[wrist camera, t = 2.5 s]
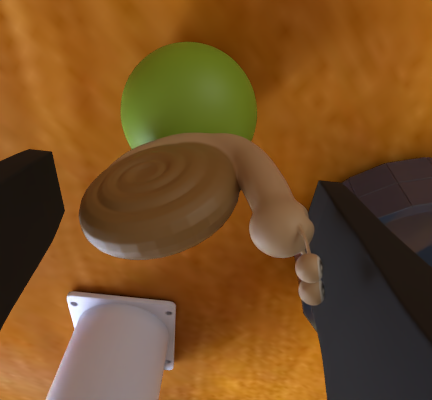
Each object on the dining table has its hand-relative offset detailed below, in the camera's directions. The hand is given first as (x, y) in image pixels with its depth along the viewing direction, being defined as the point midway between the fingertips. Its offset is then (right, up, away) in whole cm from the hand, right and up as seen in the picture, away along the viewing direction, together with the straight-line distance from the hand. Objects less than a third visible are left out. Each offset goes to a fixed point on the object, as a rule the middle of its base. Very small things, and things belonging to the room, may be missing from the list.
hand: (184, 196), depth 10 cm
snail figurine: (0, +5, +7) cm, 8 cm away
